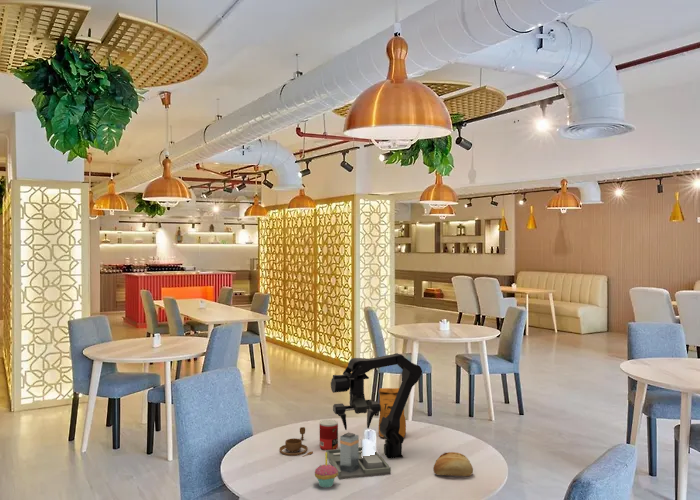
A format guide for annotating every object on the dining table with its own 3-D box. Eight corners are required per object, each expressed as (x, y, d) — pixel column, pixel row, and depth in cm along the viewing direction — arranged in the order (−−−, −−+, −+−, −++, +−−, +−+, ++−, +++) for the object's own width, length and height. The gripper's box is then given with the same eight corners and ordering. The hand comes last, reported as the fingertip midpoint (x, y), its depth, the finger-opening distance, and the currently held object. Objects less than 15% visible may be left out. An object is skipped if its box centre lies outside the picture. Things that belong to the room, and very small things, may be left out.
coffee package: (406, 440, 265) (406, 390, 265) (378, 439, 266) (378, 390, 266) (405, 432, 275) (405, 385, 275) (378, 432, 276) (378, 385, 276)
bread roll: (431, 470, 230) (431, 449, 230) (469, 469, 231) (469, 449, 230) (435, 480, 221) (435, 458, 221) (475, 479, 221) (475, 458, 221)
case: (372, 450, 251) (372, 441, 251) (390, 474, 226) (390, 463, 226) (325, 455, 247) (325, 445, 247) (339, 479, 221) (339, 468, 221)
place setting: (268, 451, 253) (268, 437, 253) (301, 439, 268) (301, 426, 268) (298, 461, 242) (298, 446, 242) (330, 447, 257) (330, 434, 257)
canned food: (335, 451, 251) (335, 425, 251) (317, 450, 253) (317, 424, 252) (339, 445, 258) (339, 420, 258) (321, 444, 260) (321, 419, 260)
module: (348, 466, 232) (348, 431, 232) (358, 468, 229) (358, 433, 229) (340, 470, 228) (340, 434, 228) (350, 473, 225) (350, 437, 225)
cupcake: (314, 480, 220) (314, 448, 220) (337, 479, 221) (337, 447, 221) (315, 490, 212) (314, 456, 211) (338, 489, 212) (338, 456, 212)
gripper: (338, 396, 229) (338, 437, 230) (384, 393, 234) (384, 433, 234) (332, 389, 240) (332, 428, 241) (377, 387, 245) (377, 424, 245)
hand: (356, 428), depth 240 cm, fingers open, 9 cm apart
